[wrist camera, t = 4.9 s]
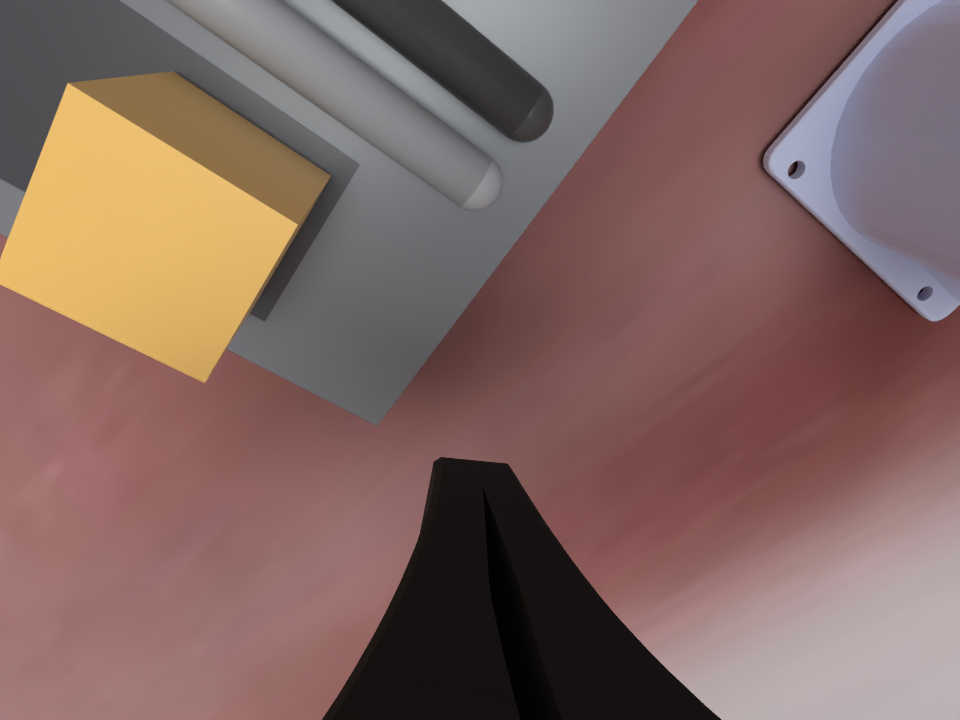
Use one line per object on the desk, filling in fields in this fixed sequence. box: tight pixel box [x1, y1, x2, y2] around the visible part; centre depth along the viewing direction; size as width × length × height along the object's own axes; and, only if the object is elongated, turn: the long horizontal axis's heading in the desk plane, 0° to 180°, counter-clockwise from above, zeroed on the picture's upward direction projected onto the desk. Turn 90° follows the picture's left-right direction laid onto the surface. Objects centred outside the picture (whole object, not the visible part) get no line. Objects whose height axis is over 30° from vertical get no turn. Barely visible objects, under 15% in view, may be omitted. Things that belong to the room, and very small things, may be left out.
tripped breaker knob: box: [0, 71, 331, 383], centre depth 13 cm, size 4×4×4 cm
